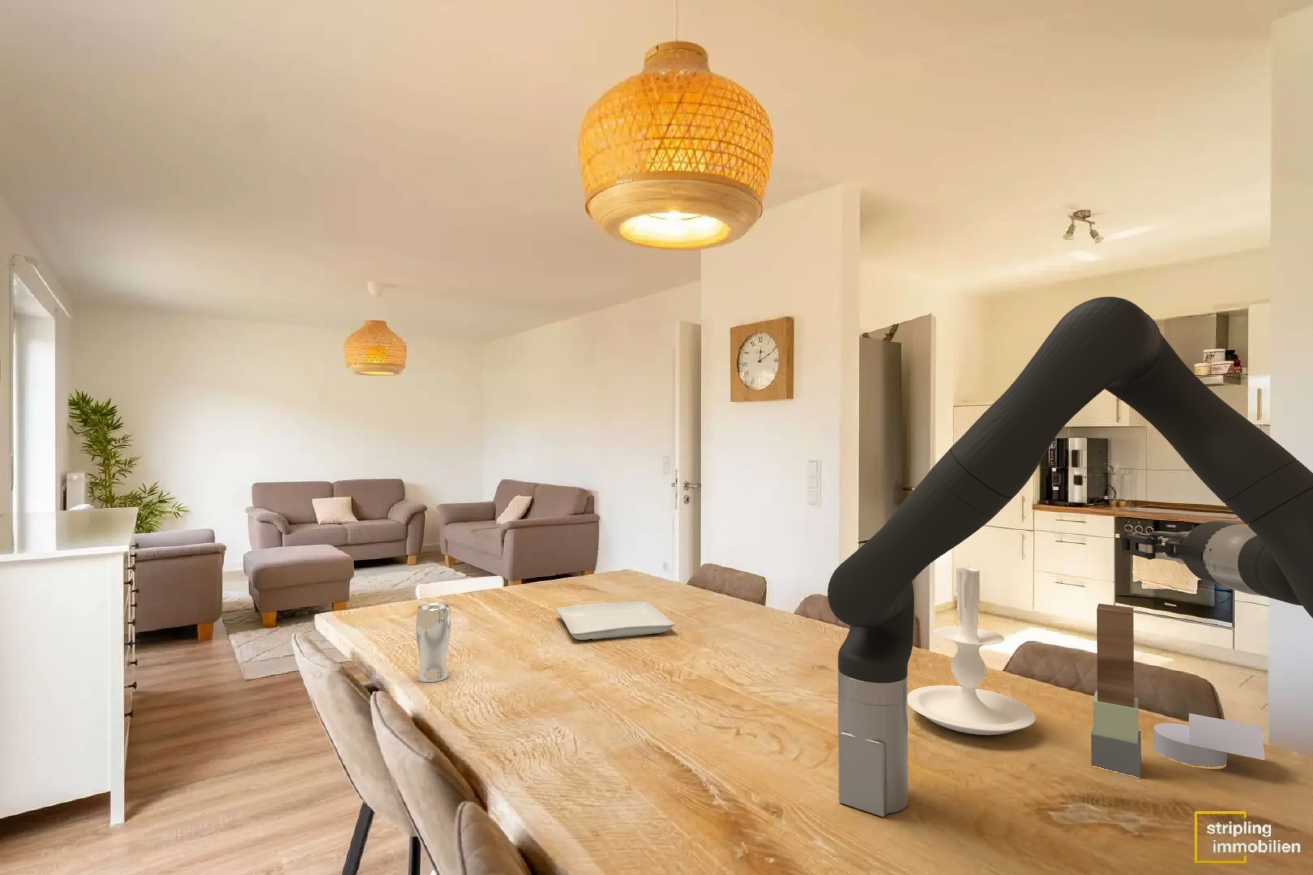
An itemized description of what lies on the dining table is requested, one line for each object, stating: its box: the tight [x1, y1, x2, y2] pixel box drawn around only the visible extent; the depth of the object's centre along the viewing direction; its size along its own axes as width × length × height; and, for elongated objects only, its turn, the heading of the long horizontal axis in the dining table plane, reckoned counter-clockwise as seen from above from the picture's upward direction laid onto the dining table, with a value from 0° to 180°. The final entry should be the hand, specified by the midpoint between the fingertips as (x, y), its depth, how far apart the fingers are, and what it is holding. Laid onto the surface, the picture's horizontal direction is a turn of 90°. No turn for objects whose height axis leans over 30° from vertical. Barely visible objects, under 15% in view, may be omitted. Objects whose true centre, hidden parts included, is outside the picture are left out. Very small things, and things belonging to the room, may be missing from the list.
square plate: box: [554, 600, 676, 641], centre depth 183 cm, size 27×27×4 cm
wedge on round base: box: [1153, 712, 1266, 767], centre depth 105 cm, size 9×7×13 cm
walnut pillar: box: [1096, 603, 1135, 708], centre depth 103 cm, size 4×4×14 cm
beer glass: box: [415, 602, 452, 683], centre depth 142 cm, size 7×7×15 cm
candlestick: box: [907, 563, 1037, 736], centre depth 121 cm, size 21×25×28 cm
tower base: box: [1090, 728, 1142, 778], centre depth 103 cm, size 6×6×5 cm
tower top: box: [1092, 690, 1139, 744], centre depth 103 cm, size 6×6×5 cm
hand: (1157, 538), depth 93 cm, fingers open, 8 cm apart
